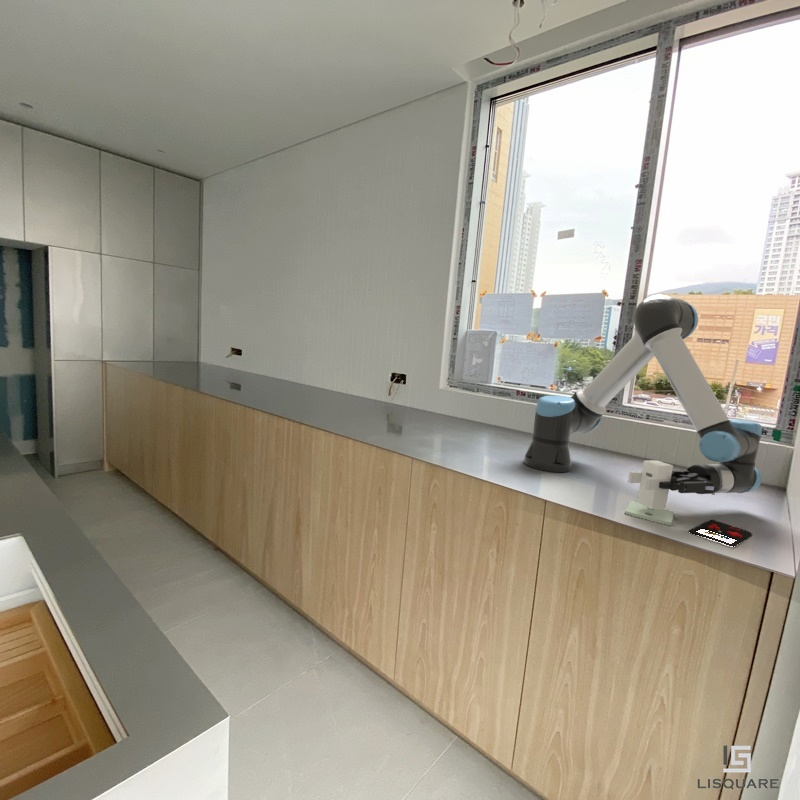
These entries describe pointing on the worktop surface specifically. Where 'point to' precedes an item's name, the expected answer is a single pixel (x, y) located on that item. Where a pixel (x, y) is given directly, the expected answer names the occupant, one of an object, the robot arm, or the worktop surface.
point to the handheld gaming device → (722, 531)
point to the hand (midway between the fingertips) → (638, 480)
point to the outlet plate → (650, 513)
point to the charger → (654, 497)
